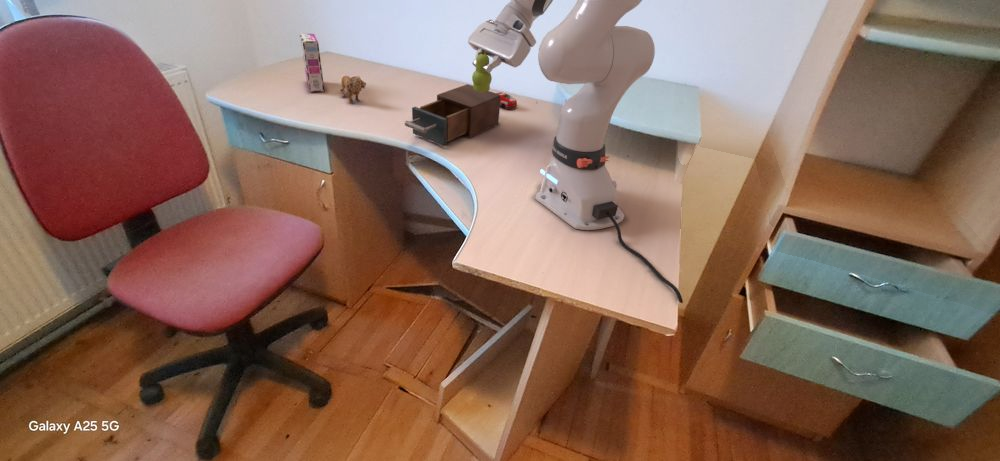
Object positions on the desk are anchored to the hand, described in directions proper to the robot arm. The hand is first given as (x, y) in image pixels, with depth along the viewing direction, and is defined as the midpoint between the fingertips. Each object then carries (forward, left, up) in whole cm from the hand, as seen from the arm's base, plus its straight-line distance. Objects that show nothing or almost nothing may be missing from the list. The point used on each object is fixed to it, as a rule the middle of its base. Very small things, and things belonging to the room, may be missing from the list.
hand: (480, 68), depth 124 cm
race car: (+23, -18, -20) cm, 35 cm away
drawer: (+2, +12, -19) cm, 23 cm away
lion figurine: (+38, +29, -20) cm, 52 cm away
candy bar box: (+52, +39, -20) cm, 68 cm away
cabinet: (+9, -1, -20) cm, 22 cm away
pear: (0, -1, -6) cm, 6 cm away
